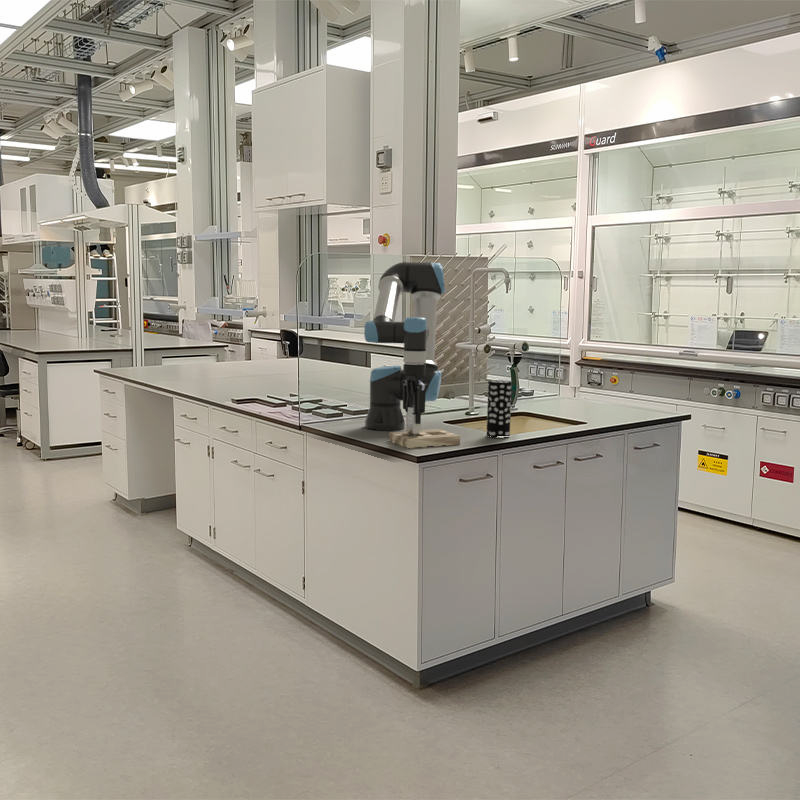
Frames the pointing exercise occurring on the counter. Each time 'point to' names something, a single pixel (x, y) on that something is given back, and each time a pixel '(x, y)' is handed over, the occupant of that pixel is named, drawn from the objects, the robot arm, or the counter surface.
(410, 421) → the peg
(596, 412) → the counter surface
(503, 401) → the spotted tube
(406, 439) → the hole block
